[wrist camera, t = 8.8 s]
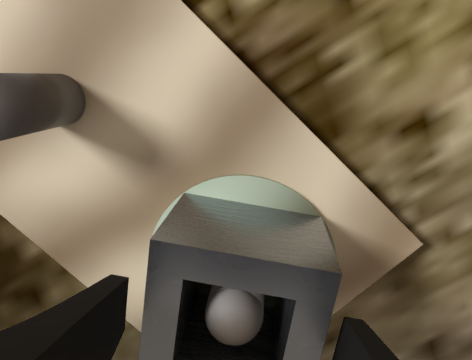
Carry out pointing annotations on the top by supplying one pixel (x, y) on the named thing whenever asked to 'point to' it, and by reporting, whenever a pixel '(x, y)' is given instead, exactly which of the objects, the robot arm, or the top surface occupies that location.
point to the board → (161, 149)
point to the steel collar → (238, 280)
